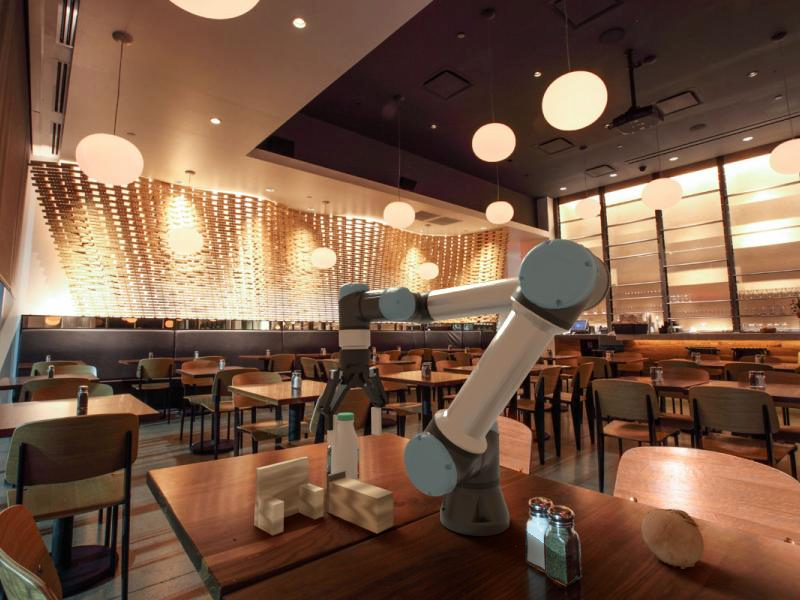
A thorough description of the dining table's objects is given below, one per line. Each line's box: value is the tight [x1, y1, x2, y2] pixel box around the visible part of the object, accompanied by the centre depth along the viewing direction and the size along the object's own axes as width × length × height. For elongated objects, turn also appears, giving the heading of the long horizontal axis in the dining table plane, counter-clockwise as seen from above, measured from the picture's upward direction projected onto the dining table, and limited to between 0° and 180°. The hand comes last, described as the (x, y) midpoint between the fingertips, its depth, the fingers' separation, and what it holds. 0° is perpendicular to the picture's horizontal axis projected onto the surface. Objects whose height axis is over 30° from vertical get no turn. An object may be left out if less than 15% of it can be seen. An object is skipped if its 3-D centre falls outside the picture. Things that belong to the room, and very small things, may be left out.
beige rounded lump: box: [640, 508, 705, 570], centre depth 75 cm, size 10×9×10 cm
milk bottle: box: [330, 412, 360, 481], centre depth 115 cm, size 8×8×20 cm
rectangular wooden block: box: [326, 470, 395, 534], centre depth 95 cm, size 17×5×8 cm, turn 48°
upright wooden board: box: [253, 456, 325, 536], centre depth 94 cm, size 8×13×12 cm, turn 138°
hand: (355, 439), depth 97 cm, fingers open, 13 cm apart
